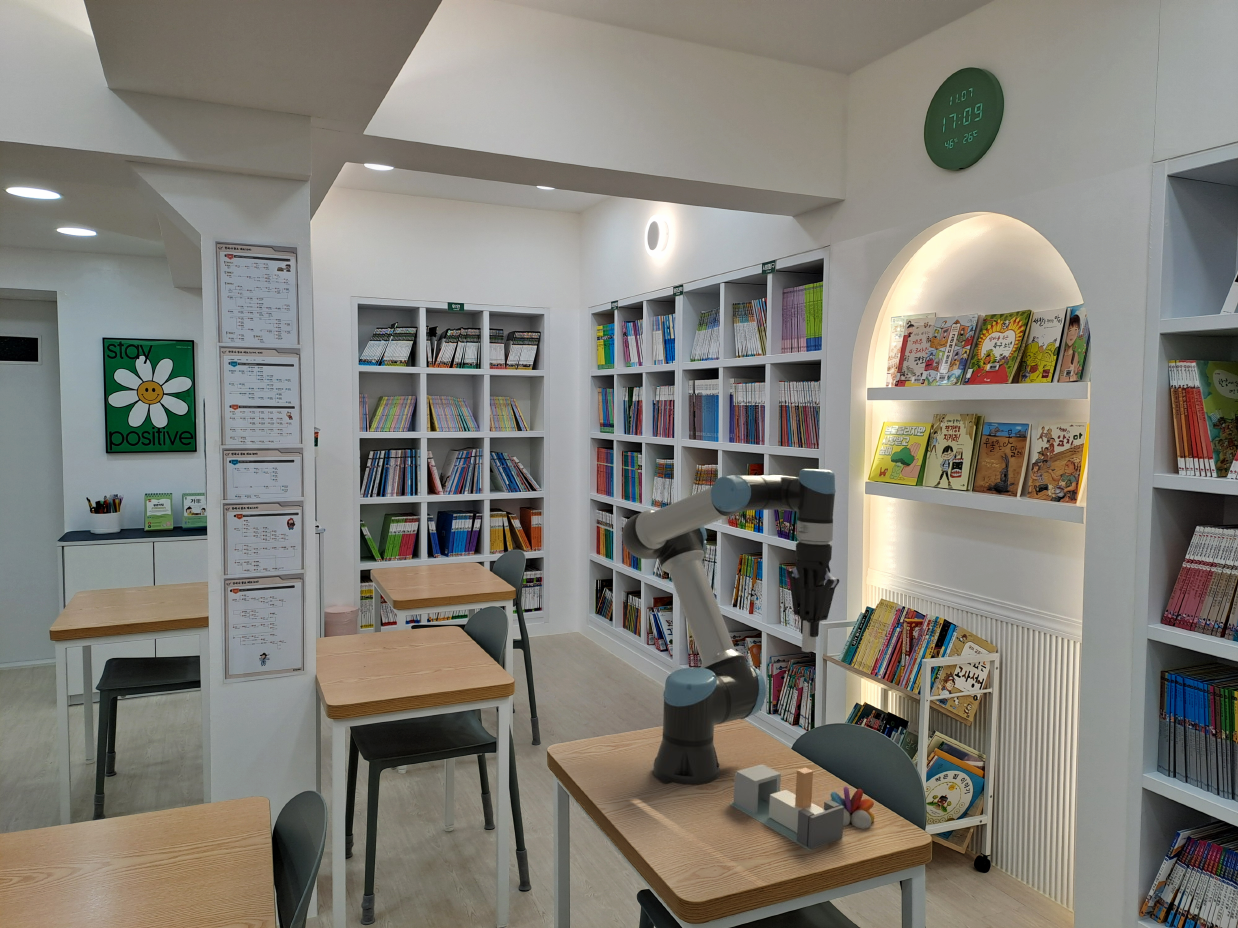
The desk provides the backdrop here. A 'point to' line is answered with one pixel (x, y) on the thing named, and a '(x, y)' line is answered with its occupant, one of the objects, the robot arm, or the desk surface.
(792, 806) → the block with wooden peg
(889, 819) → the desk surface
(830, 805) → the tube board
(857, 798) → the rainbow disc toy
